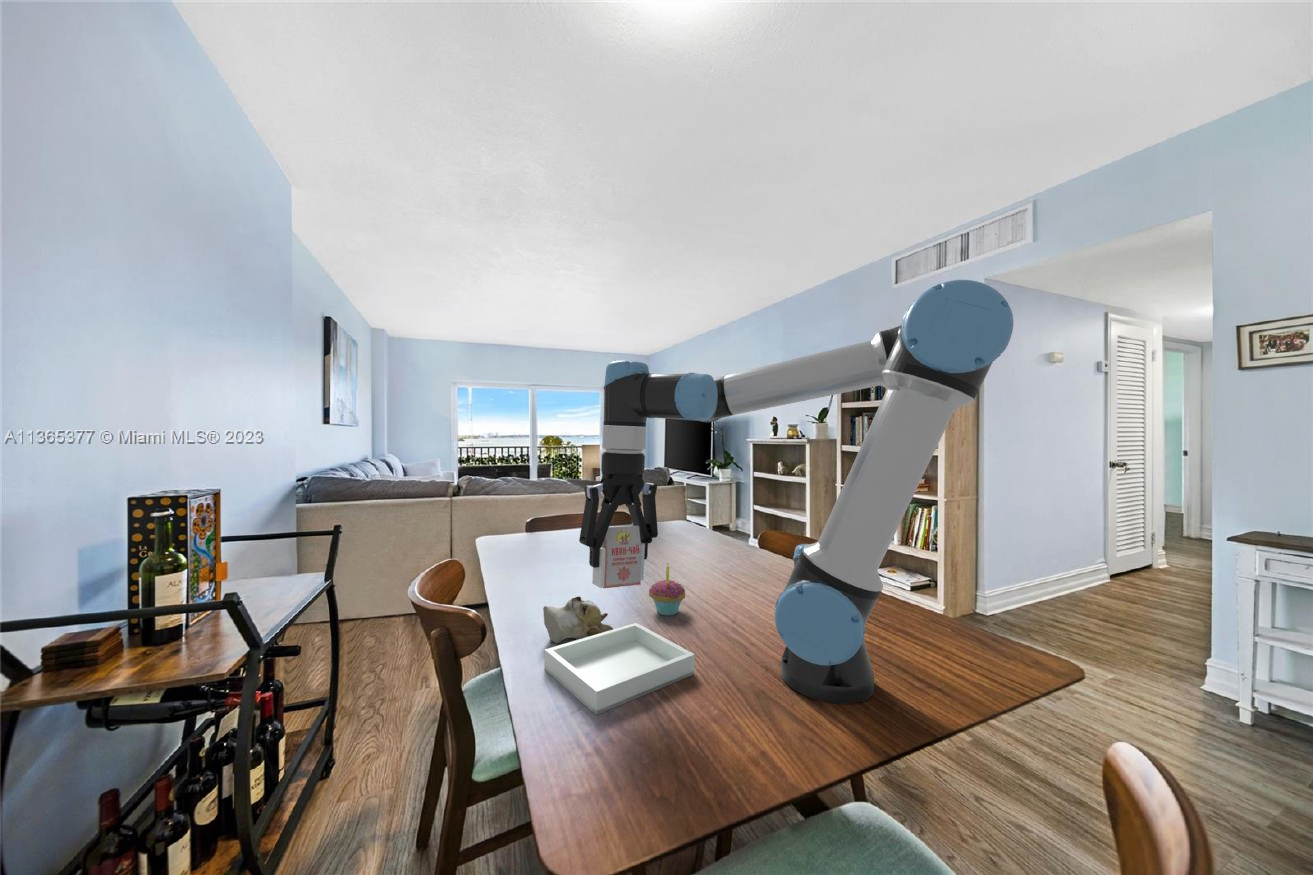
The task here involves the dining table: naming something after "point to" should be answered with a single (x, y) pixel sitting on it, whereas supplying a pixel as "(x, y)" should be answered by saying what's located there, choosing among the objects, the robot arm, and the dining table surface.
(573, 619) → the ceramic sculpture
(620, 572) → the white printed box
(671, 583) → the cupcake
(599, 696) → the tray
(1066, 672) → the dining table surface
